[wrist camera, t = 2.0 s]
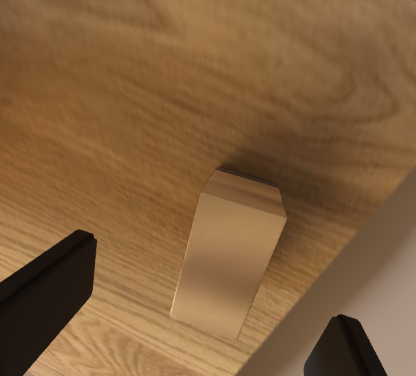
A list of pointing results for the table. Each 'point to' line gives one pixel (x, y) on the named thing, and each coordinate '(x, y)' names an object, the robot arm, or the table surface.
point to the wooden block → (228, 251)
